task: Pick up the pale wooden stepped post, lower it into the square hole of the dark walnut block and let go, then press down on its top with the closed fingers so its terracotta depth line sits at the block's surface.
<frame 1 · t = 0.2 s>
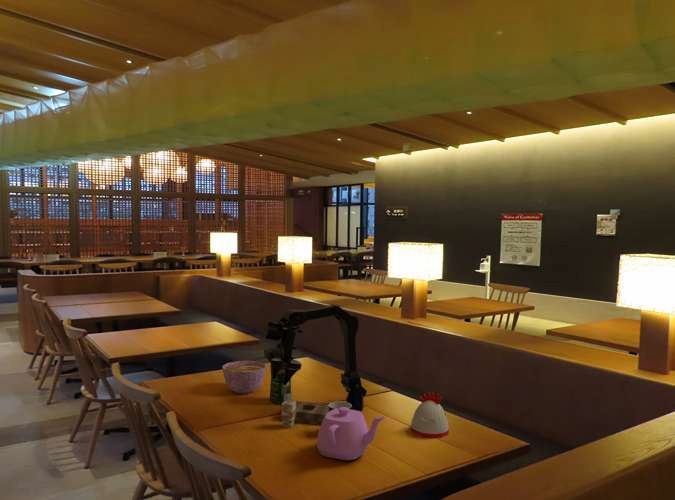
hand: (278, 381, 206), 15 cm above the table, tool pointing down, fingers open, 9 cm apart
wooden post: (288, 426, 202), on the table
coffee jar: (280, 402, 230), on the table
walnut block: (307, 417, 211), on the table
kitchen timer: (429, 431, 200), on the table
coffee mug: (343, 431, 197), on the table
bowl of food: (244, 391, 244), on the table
teapot: (344, 453, 179), on the table
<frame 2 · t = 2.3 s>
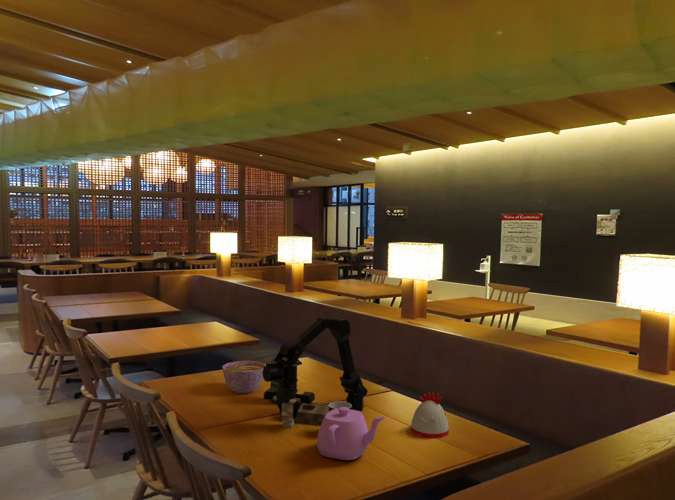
hand: (288, 418, 202), 3 cm above the table, tool pointing down, fingers closed on wooden post, 4 cm apart
wooden post: (288, 426, 202), on the table, touching gripper
everything else where it was.
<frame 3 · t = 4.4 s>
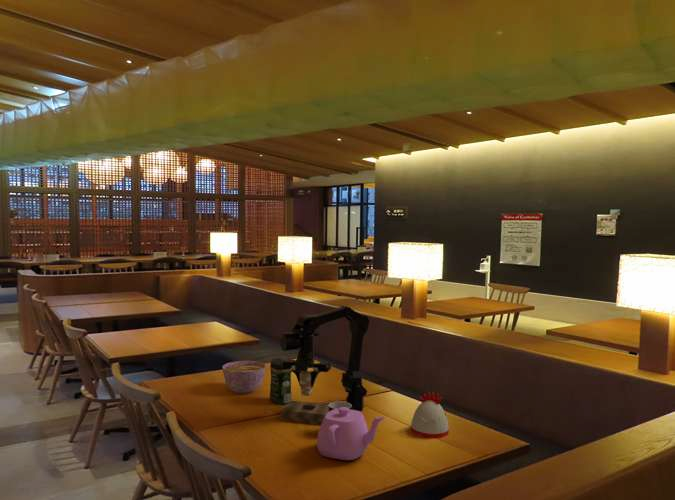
hand: (306, 386, 210), 13 cm above the table, tool pointing down, fingers closed on wooden post, 4 cm apart
wooden post: (306, 394, 210), point 10 cm above the table, touching gripper
everything else where it was.
when the fingers open (5 cm above the table, at t = 6.4 s): wooden post drops 2 cm, resting in walnut block.
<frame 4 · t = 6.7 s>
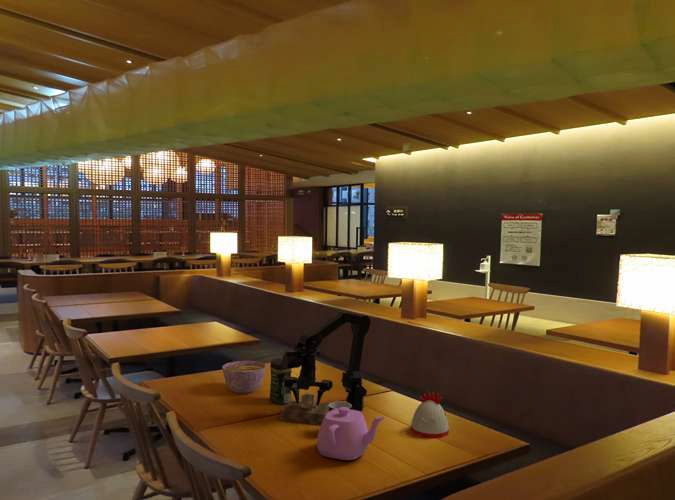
hand: (307, 404, 211), 5 cm above the table, tool pointing down, fingers open, 8 cm apart
wooden post: (307, 417, 211), resting in walnut block
everything else where it was.
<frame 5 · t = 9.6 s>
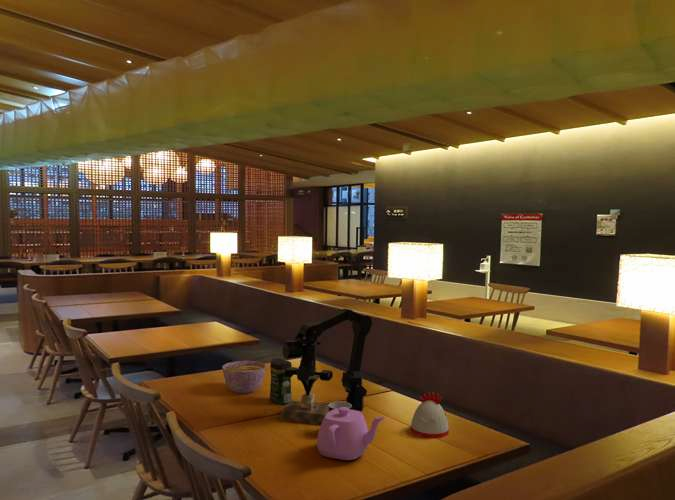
hand: (308, 395, 211), 9 cm above the table, tool pointing down, fingers closed, pressing on wooden post
wooden post: (307, 417, 211), resting in walnut block, touching gripper
everything else where it was.
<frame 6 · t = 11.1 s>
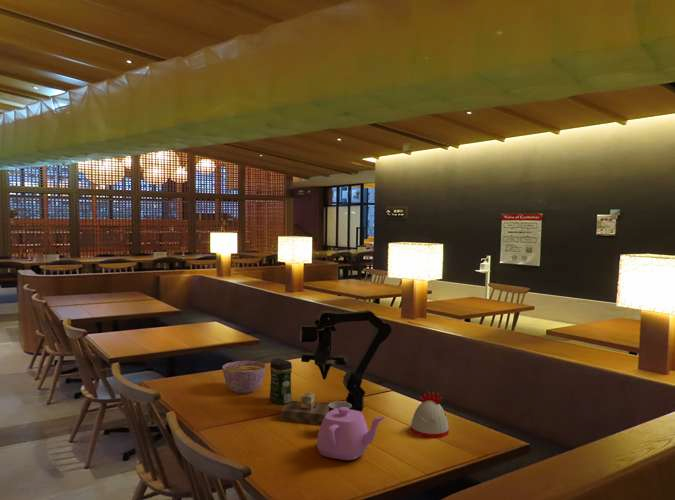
hand: (324, 379, 219), 13 cm above the table, tool pointing down, fingers closed
wooden post: (307, 417, 211), resting in walnut block
everything else where it was.
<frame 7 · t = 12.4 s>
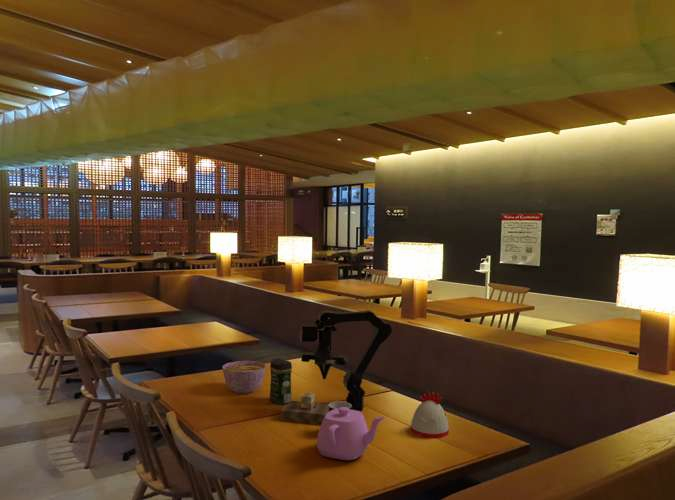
hand: (324, 379, 220), 13 cm above the table, tool pointing down, fingers closed
nothing on the table moved.
at the end: wooden post 0.0 cm off-centre on the walnut block, point 0.0 cm above the walnut block's base; wooden post tilted 0°; the gripper is holding nothing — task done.
